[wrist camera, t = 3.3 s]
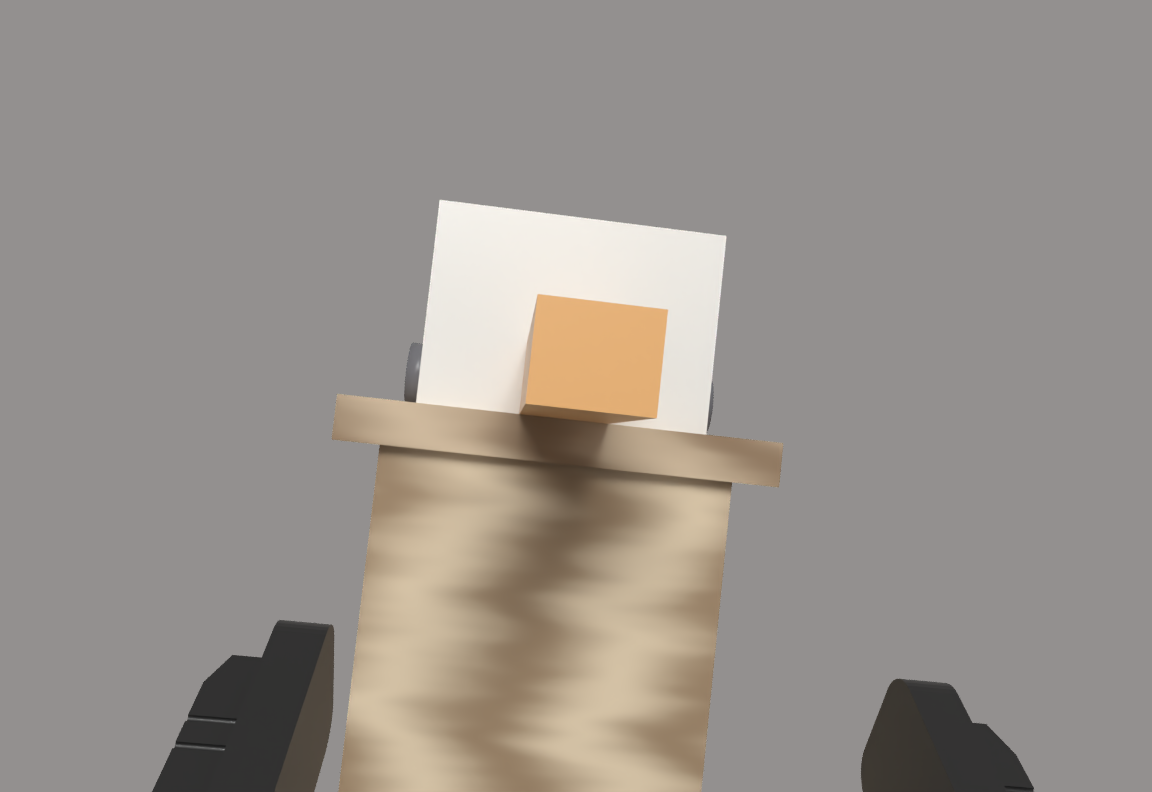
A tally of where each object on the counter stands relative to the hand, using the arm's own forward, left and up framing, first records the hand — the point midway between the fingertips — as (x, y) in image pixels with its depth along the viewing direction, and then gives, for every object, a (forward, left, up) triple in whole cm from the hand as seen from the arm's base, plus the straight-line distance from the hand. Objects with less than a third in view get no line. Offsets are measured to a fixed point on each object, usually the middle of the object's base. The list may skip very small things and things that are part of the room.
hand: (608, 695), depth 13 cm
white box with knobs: (0, -16, +4) cm, 16 cm away
